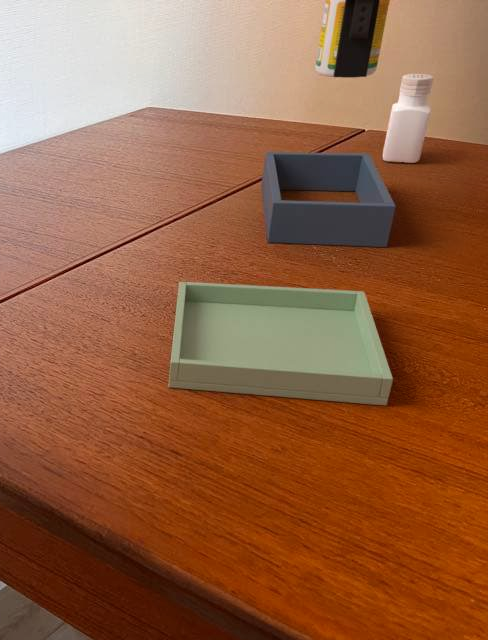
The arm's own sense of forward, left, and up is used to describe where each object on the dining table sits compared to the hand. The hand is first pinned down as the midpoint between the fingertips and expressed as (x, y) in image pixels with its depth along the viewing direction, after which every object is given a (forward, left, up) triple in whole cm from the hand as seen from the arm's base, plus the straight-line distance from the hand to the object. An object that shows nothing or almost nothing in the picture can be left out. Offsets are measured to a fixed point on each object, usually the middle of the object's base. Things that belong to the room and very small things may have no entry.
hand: (346, 69), depth 81 cm
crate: (0, 0, -14) cm, 14 cm away
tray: (+6, +31, -14) cm, 35 cm away
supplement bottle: (0, 0, 0) cm, 0 cm away
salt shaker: (-11, -21, -14) cm, 28 cm away
